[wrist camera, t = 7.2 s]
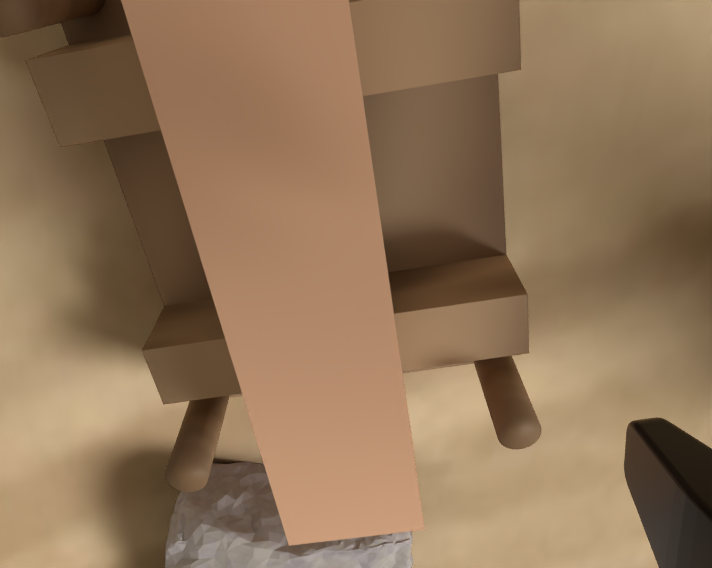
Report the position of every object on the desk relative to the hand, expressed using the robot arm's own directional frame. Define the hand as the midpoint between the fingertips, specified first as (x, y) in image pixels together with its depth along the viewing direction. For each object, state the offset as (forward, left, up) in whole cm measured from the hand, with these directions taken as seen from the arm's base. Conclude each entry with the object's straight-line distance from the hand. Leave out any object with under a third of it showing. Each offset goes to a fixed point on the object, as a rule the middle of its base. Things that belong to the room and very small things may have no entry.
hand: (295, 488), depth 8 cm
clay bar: (0, 0, -8) cm, 9 cm away
